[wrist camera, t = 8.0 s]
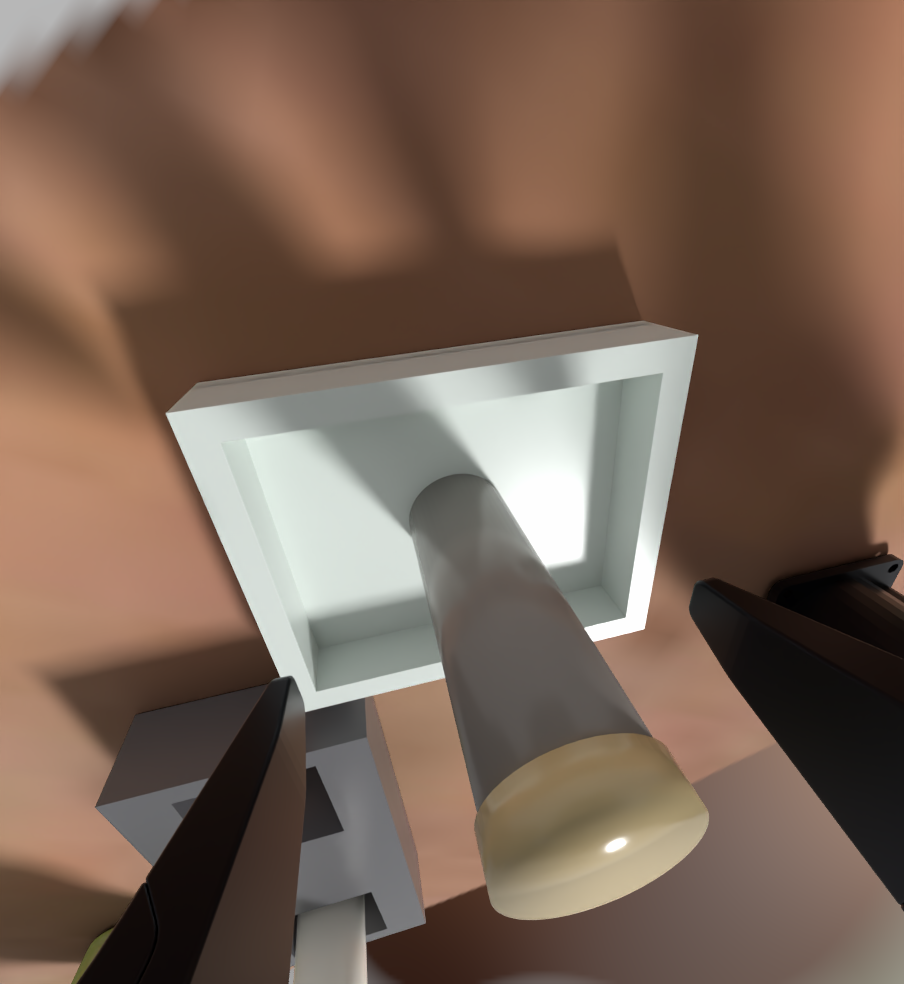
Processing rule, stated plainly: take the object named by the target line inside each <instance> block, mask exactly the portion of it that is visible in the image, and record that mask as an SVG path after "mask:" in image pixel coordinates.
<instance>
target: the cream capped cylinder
mask: <svg viewBox="0 0 904 984" xmlns="http://www.w3.org/2000/svg"><path fill="white" fill-rule="evenodd" d="M409 527H410V531H411V535H412V539H413V544H414V548H415V552H416V556H417V561H418V565H419V569H420V573H421V577H422V582H423V586H424V590H425V594H426V599H427V603H428V607H429V611H430V615H431V620H432V624H433V628H434V632H435V637H436V641H437V645H438V649H439V653H440V658H441V662H442V666H443V670H444V675H445V679H446V683H447V687H448V691H449V696H450V700H451V704H452V708H453V713H454V717H455V721H456V725H457V729H458V734H459V738H460V742H461V746H462V751H463V755H464V759H465V763H466V768H467V772H468V776H469V780H470V784H471V789H472V793H473V797H474V801H475V806H476V810H477V815H476V819H475V823H474V831H475V835H476V840H477V844H478V849H479V853H480V858H481V862H482V866H483V871H484V875H485V880H486V884H487V889H488V893H489V897H490V901H491V905H492V906H493V908H494V909H495V910H496V911H498V912H499V913H500V914H502V915H505V916H507V917H511V918H515V919H523V920H538V919H549V918H557V917H561V916H567V915H571V914H575V913H579V912H583V911H586V910H589V909H592V908H595V907H598V906H601V905H603V904H606V903H609V902H611V901H613V900H616V899H618V898H621V897H623V896H625V895H627V894H629V893H631V892H633V891H635V890H637V889H639V888H641V887H643V886H644V885H646V884H648V883H650V882H651V881H653V880H655V879H656V878H658V877H659V876H661V875H662V874H664V873H665V872H667V871H668V870H670V869H671V868H672V867H674V866H675V865H676V864H677V863H679V862H680V861H681V860H682V859H683V858H684V857H685V856H686V855H688V854H689V853H690V852H691V851H692V850H693V848H694V847H695V846H696V845H697V844H698V842H699V841H700V840H701V838H702V837H703V835H704V833H705V831H706V829H707V826H708V823H709V814H708V810H707V809H706V807H705V806H704V804H703V803H702V801H701V799H700V798H699V796H698V795H697V793H696V792H695V790H694V788H693V787H692V785H691V784H690V782H689V781H688V779H687V778H686V776H685V774H684V773H683V771H682V770H681V768H680V767H679V765H678V764H677V762H676V760H675V759H674V757H673V756H672V754H671V753H670V751H669V750H668V748H667V747H666V746H665V745H664V744H663V743H662V742H660V741H659V740H657V739H655V738H653V737H652V735H651V733H650V732H649V730H648V729H647V727H646V725H645V724H644V722H643V721H642V719H641V718H640V716H639V714H638V713H637V711H636V710H635V708H634V706H633V705H632V703H631V702H630V700H629V698H628V697H627V695H626V694H625V692H624V690H623V689H622V687H621V686H620V684H619V682H618V681H617V679H616V678H615V676H614V675H613V673H612V671H611V670H610V668H609V667H608V665H607V663H606V662H605V660H604V659H603V657H602V655H601V654H600V652H599V651H598V649H597V647H596V646H595V644H594V643H593V641H592V640H591V638H590V636H589V635H588V633H587V632H586V630H585V628H584V627H583V625H582V624H581V622H580V620H579V619H578V617H577V616H576V614H575V612H574V611H573V609H572V608H571V606H570V604H569V603H568V601H567V600H566V598H565V597H564V595H563V593H562V592H561V590H560V589H559V587H558V585H557V584H556V582H555V581H554V579H553V577H552V576H551V574H550V573H549V571H548V569H547V568H546V566H545V565H544V563H543V562H542V560H541V558H540V557H539V555H538V554H537V552H536V550H535V549H534V547H533V546H532V544H531V542H530V541H529V539H528V538H527V536H526V534H525V533H524V531H523V530H522V528H521V526H520V525H519V523H518V522H517V520H516V519H515V517H514V515H513V514H512V512H511V511H510V509H509V507H508V506H507V504H506V503H505V501H504V499H503V498H502V496H501V495H500V493H499V492H498V490H497V489H496V487H495V486H494V485H493V484H492V483H490V482H489V481H487V480H486V479H484V478H482V477H479V476H476V475H472V474H453V475H449V476H445V477H443V478H440V479H438V480H436V481H434V482H433V483H431V484H430V485H428V486H427V487H426V488H425V489H423V490H422V492H421V493H420V494H419V495H418V496H417V498H416V499H415V501H414V503H413V505H412V507H411V510H410V515H409Z"/></svg>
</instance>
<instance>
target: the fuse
mask: <svg viewBox="0 0 904 984" xmlns="http://www.w3.org/2000/svg"><path fill="white" fill-rule="evenodd" d="M293 984H367V962H366V931H365V901H364V894H363V895H360V896H356V897H353V898H350V899H347V900H343V901H340V902H337V903H333V904H330V905H327V906H324V907H320V908H317V909H314V910H311V911H307V912H304V913H301V914H298V920H297V935H296V950H295V965H294V980H293Z"/></svg>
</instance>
